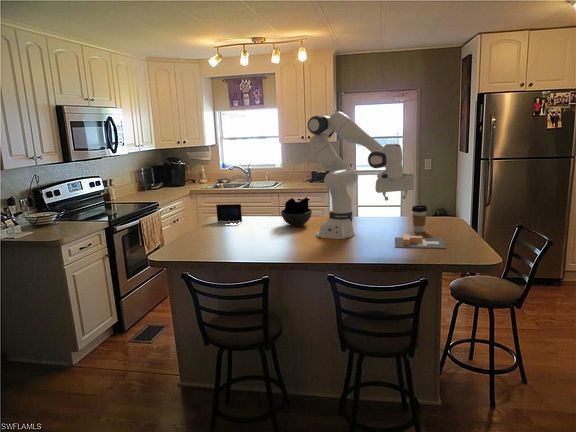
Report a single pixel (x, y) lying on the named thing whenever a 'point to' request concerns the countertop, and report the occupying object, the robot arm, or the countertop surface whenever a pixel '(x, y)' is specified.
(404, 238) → the t block
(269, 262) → the countertop surface
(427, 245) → the t mat
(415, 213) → the coffee cup
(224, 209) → the laptop
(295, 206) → the coal bowl
